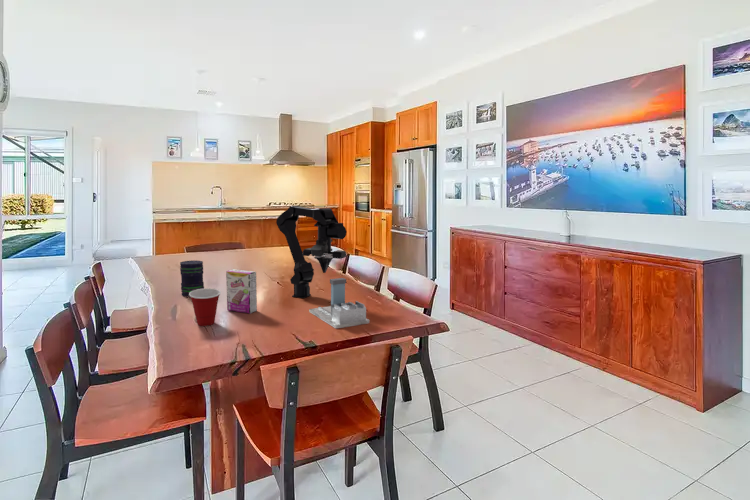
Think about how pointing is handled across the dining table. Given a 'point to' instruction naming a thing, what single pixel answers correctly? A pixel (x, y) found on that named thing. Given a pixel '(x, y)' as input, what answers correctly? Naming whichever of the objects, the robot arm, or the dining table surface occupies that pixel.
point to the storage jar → (191, 276)
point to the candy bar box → (241, 291)
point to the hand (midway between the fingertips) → (324, 272)
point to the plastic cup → (205, 305)
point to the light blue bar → (337, 290)
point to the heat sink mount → (342, 314)
